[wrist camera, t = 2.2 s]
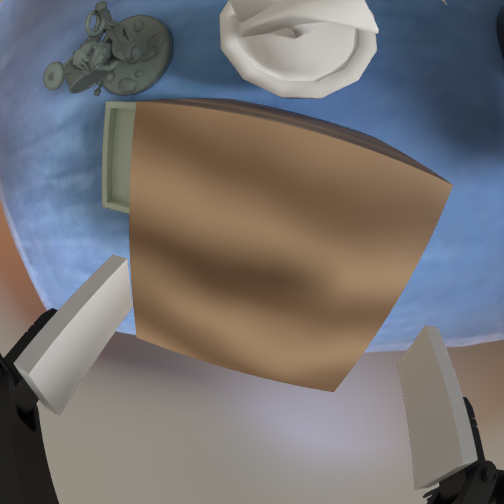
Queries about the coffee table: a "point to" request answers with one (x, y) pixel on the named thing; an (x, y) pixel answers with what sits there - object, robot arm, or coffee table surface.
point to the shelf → (270, 236)
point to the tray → (117, 154)
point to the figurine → (116, 55)
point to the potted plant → (299, 44)
